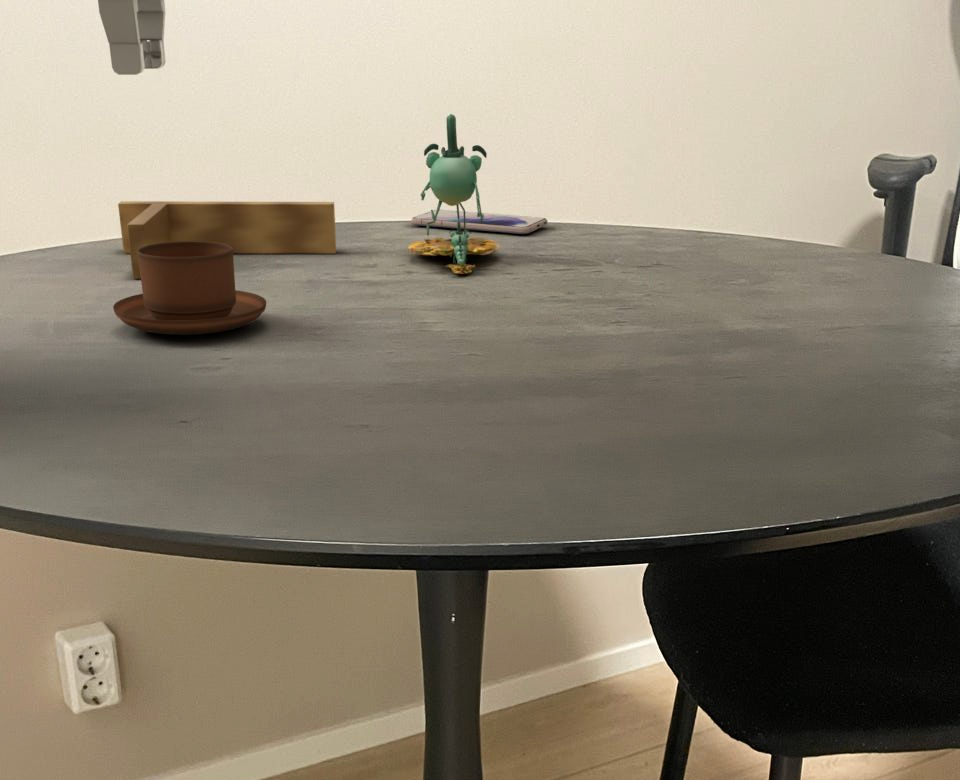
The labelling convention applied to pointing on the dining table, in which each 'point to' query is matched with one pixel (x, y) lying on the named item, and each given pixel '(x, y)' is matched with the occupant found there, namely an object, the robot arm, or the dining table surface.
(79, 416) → the dining table surface
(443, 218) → the smartphone
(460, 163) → the green cartoon figurine
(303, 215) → the corner stop
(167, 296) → the cup and saucer
